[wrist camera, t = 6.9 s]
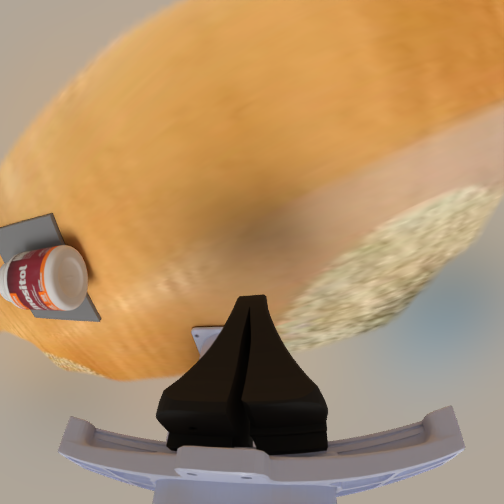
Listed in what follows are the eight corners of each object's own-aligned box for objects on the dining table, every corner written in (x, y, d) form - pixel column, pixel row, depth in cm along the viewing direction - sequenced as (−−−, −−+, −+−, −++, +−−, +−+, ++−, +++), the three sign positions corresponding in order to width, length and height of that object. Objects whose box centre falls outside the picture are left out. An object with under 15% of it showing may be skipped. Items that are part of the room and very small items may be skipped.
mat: (101, 318, 30) (99, 321, 30) (36, 315, 31) (35, 317, 31) (52, 213, 23) (49, 215, 22) (-8, 229, 24) (-10, 231, 24)
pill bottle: (64, 323, 20) (4, 319, 21) (97, 293, 26) (35, 295, 27) (40, 256, 18) (-15, 266, 20) (80, 235, 24) (20, 248, 25)
